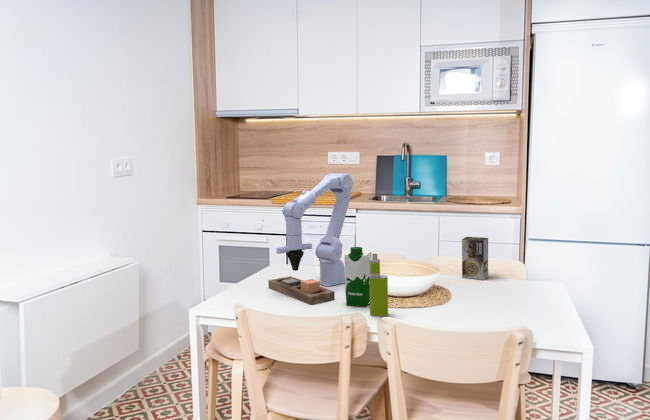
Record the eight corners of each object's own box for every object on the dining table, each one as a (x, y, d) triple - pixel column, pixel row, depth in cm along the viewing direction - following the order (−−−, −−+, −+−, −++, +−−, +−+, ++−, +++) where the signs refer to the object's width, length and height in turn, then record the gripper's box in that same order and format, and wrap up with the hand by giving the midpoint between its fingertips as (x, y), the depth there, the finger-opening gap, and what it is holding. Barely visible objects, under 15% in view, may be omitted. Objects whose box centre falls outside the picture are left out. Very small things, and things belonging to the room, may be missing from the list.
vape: (370, 312, 185) (369, 252, 183) (388, 313, 184) (387, 252, 182) (369, 316, 182) (368, 255, 179) (387, 316, 181) (386, 255, 178)
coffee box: (488, 277, 228) (489, 237, 226) (483, 280, 222) (484, 240, 220) (466, 274, 232) (466, 236, 230) (461, 278, 227) (461, 238, 225)
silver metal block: (292, 287, 220) (292, 278, 219) (299, 289, 216) (299, 280, 215) (281, 289, 217) (281, 280, 216) (288, 291, 213) (287, 283, 212)
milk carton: (343, 306, 193) (341, 248, 191) (350, 298, 202) (349, 243, 199) (368, 308, 190) (367, 249, 188) (374, 300, 199) (373, 244, 196)
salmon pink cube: (312, 288, 208) (311, 279, 207) (319, 290, 204) (319, 281, 203) (300, 290, 205) (300, 281, 205) (308, 293, 201) (308, 283, 201)
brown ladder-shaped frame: (290, 283, 226) (290, 276, 225) (334, 299, 201) (334, 291, 201) (268, 287, 220) (268, 280, 219) (311, 305, 195) (311, 296, 195)
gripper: (304, 231, 217) (306, 265, 219) (271, 235, 209) (273, 271, 211) (314, 233, 212) (315, 268, 213) (281, 237, 203) (282, 274, 205)
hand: (295, 270), depth 212 cm, fingers closed
